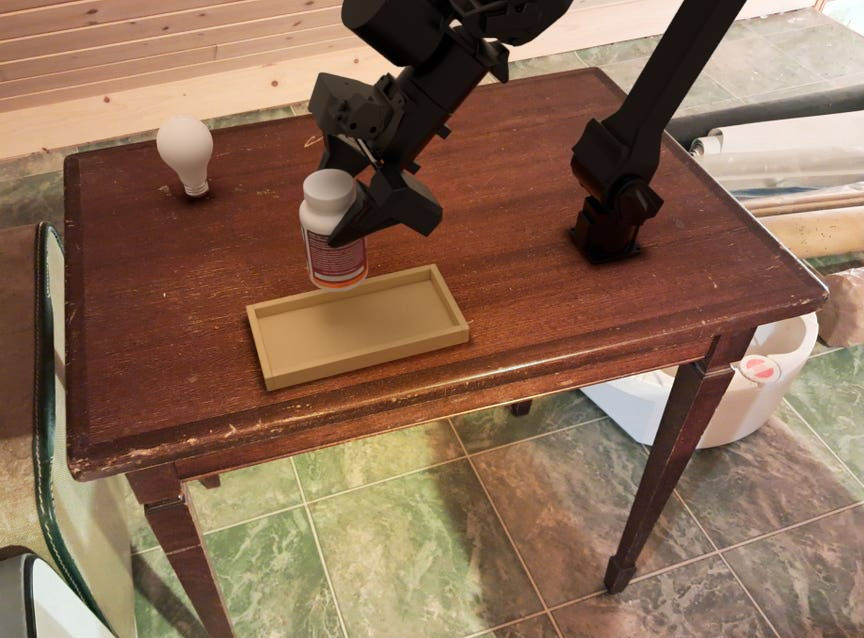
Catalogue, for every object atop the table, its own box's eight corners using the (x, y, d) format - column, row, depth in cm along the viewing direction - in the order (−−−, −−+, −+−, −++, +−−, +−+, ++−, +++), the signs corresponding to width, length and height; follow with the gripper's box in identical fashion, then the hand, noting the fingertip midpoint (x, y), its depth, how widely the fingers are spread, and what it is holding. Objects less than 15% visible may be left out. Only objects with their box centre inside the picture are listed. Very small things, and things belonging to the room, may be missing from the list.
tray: (434, 276, 83) (435, 262, 81) (468, 341, 76) (470, 328, 75) (248, 319, 79) (245, 305, 77) (267, 391, 72) (264, 378, 71)
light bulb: (228, 180, 96) (211, 103, 87) (219, 211, 91) (201, 134, 83) (178, 180, 96) (157, 104, 87) (167, 211, 92) (144, 134, 83)
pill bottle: (381, 275, 73) (377, 185, 65) (332, 303, 71) (321, 214, 62) (344, 245, 77) (335, 155, 68) (296, 271, 74) (281, 182, 66)
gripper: (325, -6, 63) (226, 135, 69) (408, 97, 51) (280, 256, 57) (409, 62, 70) (313, 184, 76) (497, 166, 59) (376, 299, 65)
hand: (319, 225), depth 68 cm, fingers closed on pill bottle, 6 cm apart
